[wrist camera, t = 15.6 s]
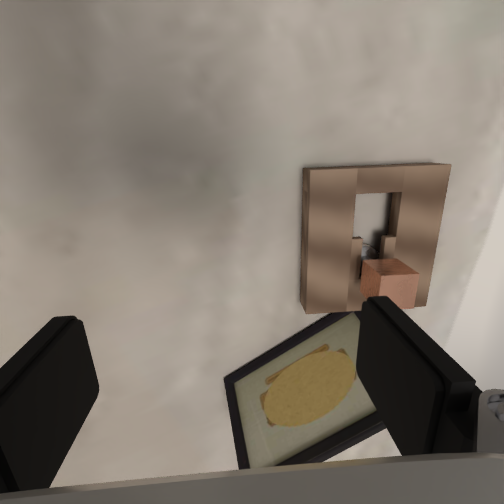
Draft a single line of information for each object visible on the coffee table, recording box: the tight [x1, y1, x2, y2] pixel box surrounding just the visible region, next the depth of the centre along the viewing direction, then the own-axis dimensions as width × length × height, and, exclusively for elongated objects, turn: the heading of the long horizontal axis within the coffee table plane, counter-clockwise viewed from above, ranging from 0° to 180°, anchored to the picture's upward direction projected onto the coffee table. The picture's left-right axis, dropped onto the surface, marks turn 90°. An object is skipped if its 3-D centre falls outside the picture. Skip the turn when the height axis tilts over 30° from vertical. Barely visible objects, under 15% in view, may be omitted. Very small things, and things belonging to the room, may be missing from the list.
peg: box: [359, 243, 420, 309], centre depth 36 cm, size 4×4×10 cm
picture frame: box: [224, 311, 386, 470], centre depth 39 cm, size 23×9×15 cm, turn 124°
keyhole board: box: [300, 163, 451, 314], centre depth 38 cm, size 18×16×4 cm
